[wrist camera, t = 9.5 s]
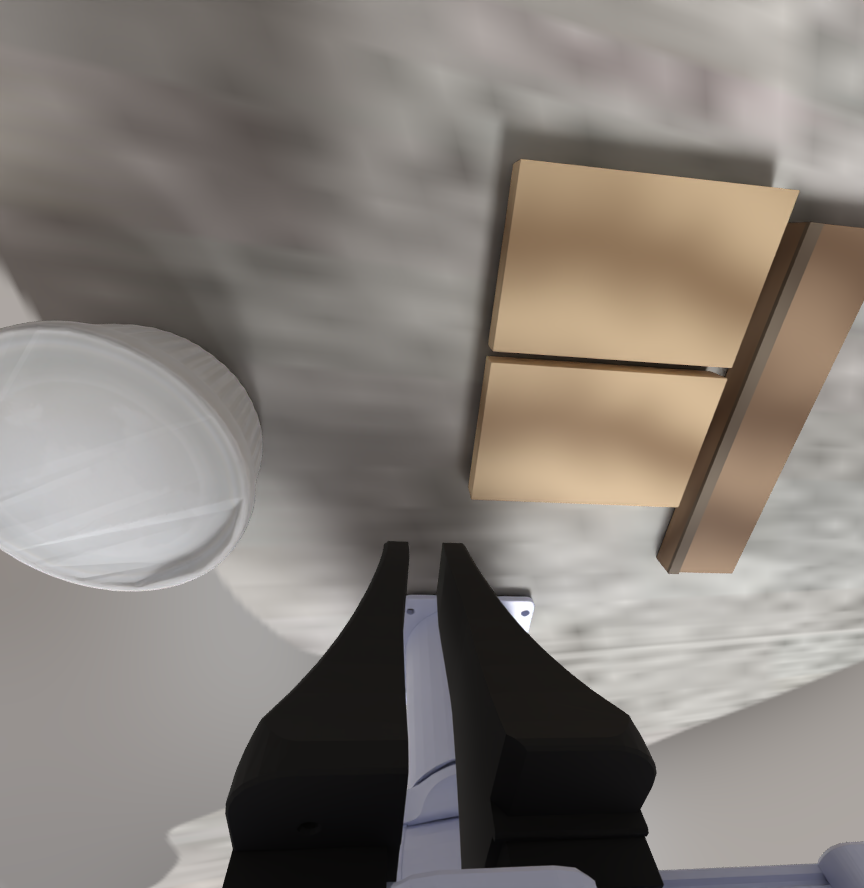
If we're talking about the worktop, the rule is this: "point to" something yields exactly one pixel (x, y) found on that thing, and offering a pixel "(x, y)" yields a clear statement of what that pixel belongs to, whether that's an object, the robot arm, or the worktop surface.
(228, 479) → the ramekin
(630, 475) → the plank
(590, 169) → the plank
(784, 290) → the floor panel
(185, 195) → the worktop surface
